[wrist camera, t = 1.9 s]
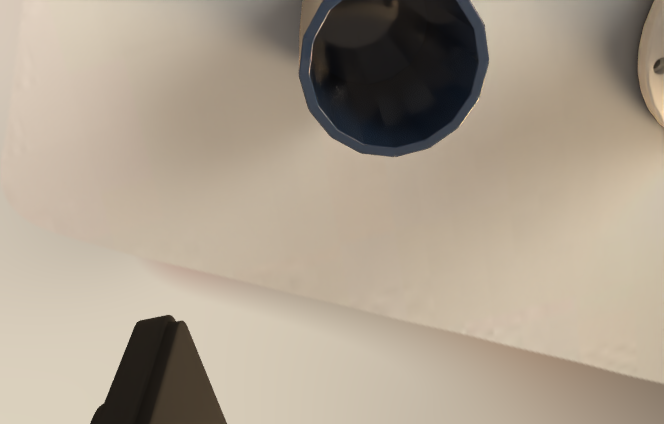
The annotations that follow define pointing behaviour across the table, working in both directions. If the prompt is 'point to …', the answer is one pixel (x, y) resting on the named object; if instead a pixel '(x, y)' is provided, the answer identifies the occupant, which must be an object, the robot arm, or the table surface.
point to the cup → (391, 70)
